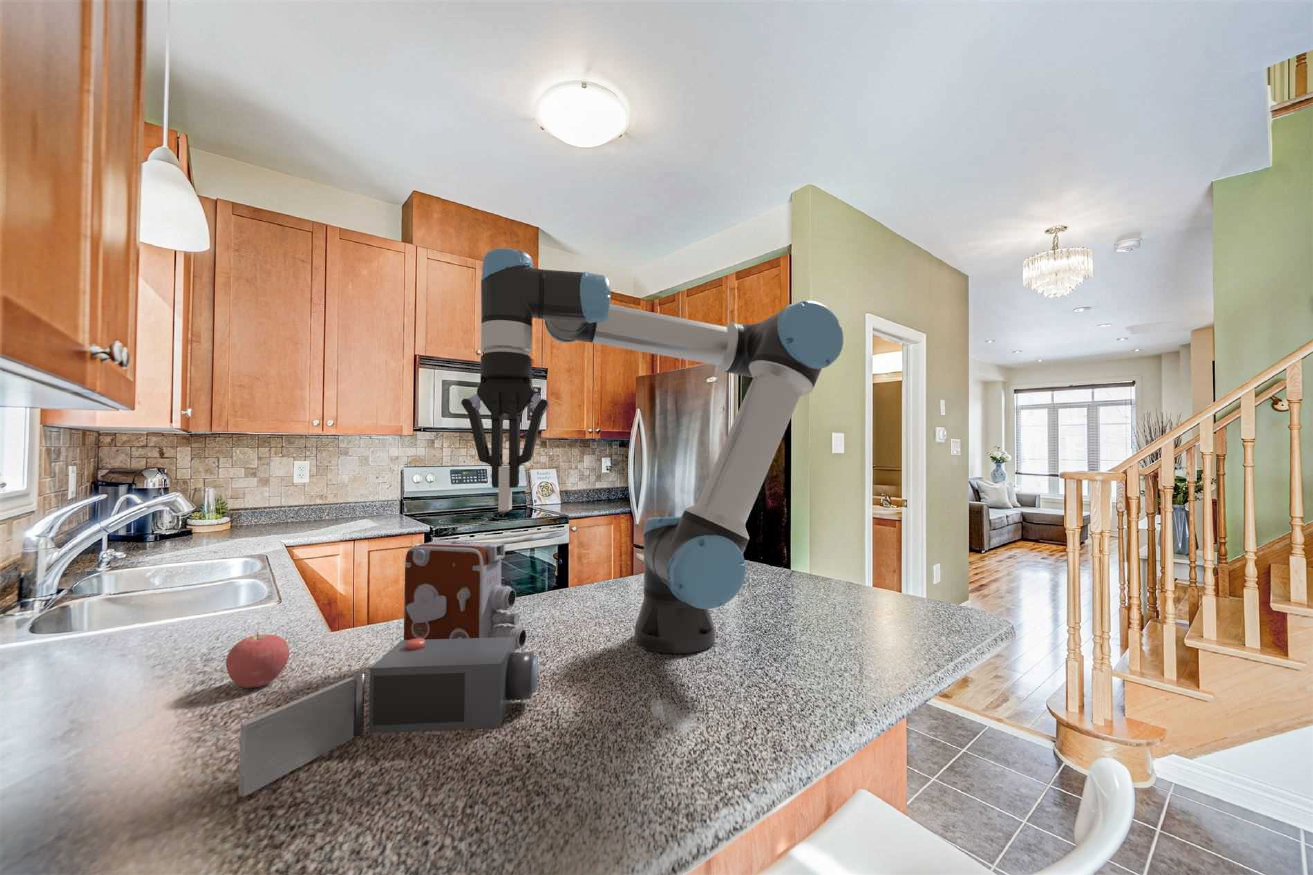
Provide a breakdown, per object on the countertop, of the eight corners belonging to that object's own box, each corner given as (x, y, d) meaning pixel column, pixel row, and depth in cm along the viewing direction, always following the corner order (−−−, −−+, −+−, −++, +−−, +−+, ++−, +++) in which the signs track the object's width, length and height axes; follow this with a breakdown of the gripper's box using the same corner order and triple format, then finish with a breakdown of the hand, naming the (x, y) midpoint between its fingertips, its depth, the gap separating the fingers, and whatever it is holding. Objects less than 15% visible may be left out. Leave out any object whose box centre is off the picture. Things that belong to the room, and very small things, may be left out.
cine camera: (506, 679, 81) (508, 549, 82) (395, 669, 85) (398, 544, 86) (532, 657, 90) (533, 540, 91) (431, 649, 94) (432, 536, 95)
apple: (213, 691, 77) (215, 636, 77) (265, 672, 84) (267, 621, 84) (247, 699, 75) (249, 642, 75) (298, 679, 81) (299, 626, 82)
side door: (354, 729, 65) (356, 670, 66) (366, 732, 65) (367, 672, 65) (234, 793, 53) (236, 720, 53) (246, 797, 52) (248, 723, 53)
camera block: (539, 691, 77) (540, 630, 77) (529, 726, 67) (529, 656, 67) (400, 697, 75) (401, 634, 76) (368, 733, 65) (369, 661, 66)
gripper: (552, 359, 85) (551, 507, 84) (469, 358, 84) (467, 507, 83) (547, 350, 77) (546, 511, 76) (455, 348, 76) (453, 512, 75)
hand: (505, 509), depth 80 cm, fingers closed
